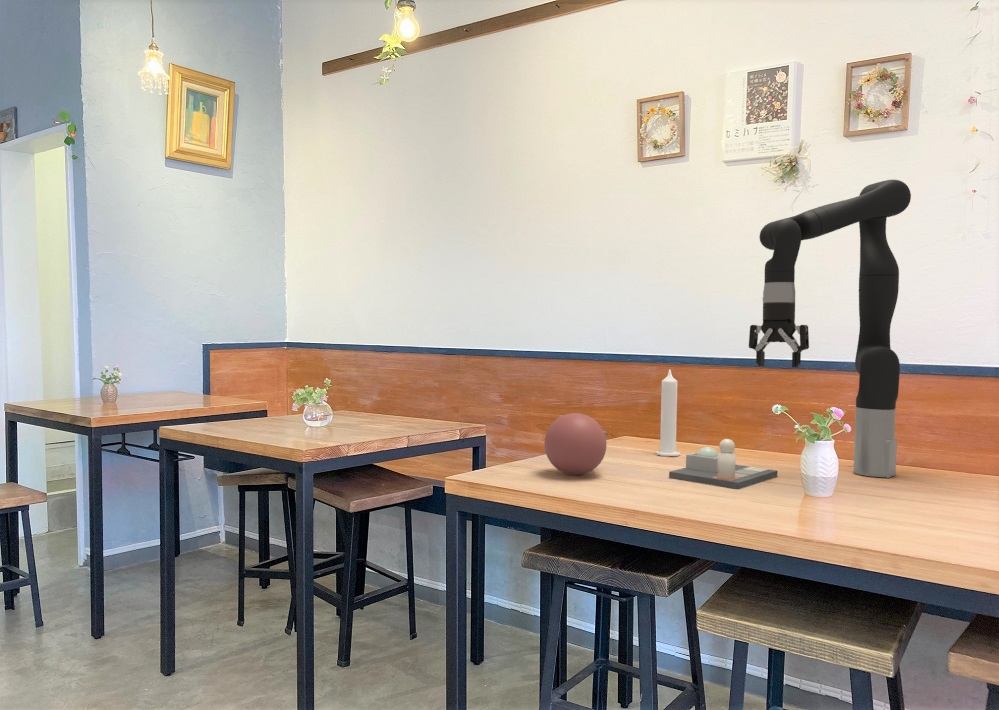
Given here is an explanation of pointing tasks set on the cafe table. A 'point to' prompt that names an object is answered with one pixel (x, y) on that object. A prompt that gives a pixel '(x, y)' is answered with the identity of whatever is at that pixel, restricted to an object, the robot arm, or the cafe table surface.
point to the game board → (707, 471)
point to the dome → (707, 452)
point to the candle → (668, 417)
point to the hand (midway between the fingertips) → (777, 366)
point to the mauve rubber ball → (575, 444)
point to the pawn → (726, 460)
